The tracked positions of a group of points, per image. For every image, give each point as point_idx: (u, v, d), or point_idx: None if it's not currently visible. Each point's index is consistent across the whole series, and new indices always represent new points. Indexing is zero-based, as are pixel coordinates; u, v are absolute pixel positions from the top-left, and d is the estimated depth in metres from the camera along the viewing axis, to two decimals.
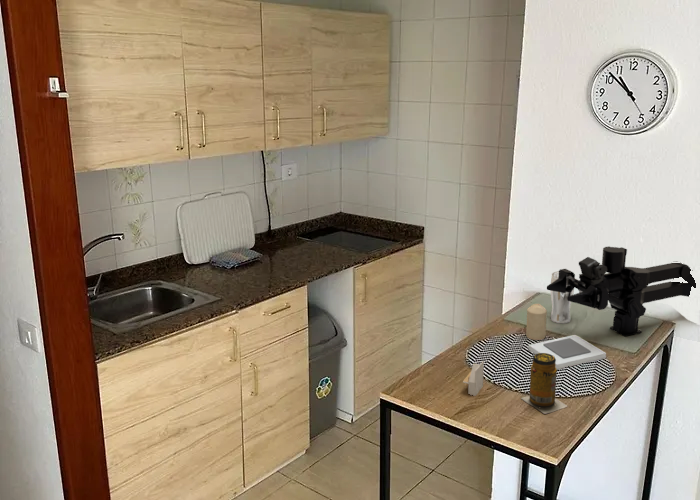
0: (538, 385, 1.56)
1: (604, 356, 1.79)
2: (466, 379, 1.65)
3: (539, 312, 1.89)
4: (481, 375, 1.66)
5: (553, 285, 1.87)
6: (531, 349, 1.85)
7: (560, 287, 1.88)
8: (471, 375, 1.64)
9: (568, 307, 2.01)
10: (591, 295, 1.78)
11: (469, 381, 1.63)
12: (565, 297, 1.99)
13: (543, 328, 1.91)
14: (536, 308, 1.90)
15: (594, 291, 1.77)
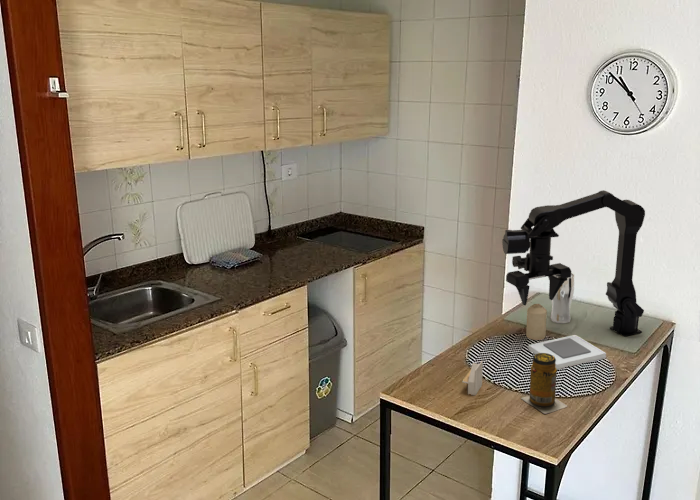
0: (538, 385, 1.56)
1: (604, 356, 1.79)
2: (465, 379, 1.65)
3: (539, 312, 1.89)
4: (480, 374, 1.66)
5: (549, 292, 1.92)
6: (531, 349, 1.85)
7: (554, 285, 1.90)
8: (470, 375, 1.64)
9: (568, 307, 2.01)
10: None
11: (469, 381, 1.63)
12: (565, 297, 1.99)
13: (543, 328, 1.91)
14: (536, 308, 1.90)
15: None
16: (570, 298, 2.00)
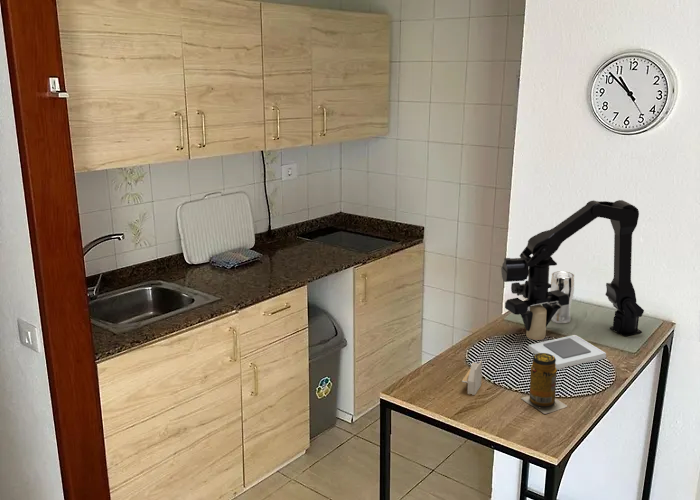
0: (538, 385, 1.56)
1: (604, 356, 1.79)
2: (465, 378, 1.65)
3: (539, 312, 1.89)
4: (479, 374, 1.66)
5: None
6: (531, 349, 1.85)
7: (547, 312, 1.92)
8: (470, 374, 1.64)
9: (568, 307, 2.01)
10: None
11: (468, 380, 1.64)
12: None
13: (543, 328, 1.91)
14: (536, 308, 1.90)
15: None
16: (570, 298, 2.00)
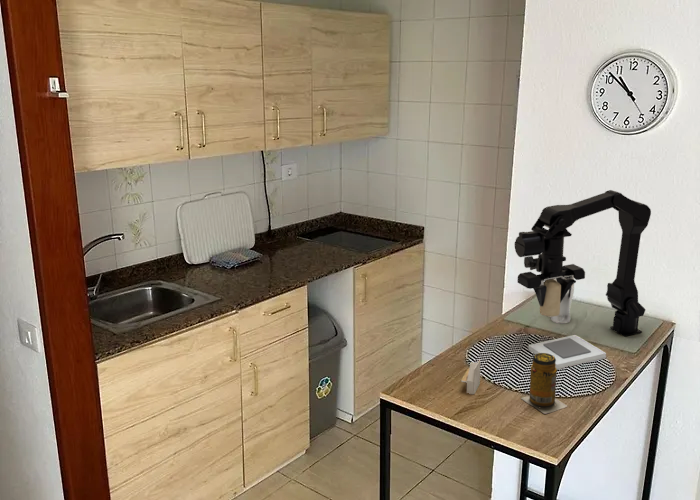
0: (538, 385, 1.56)
1: (604, 356, 1.79)
2: (464, 378, 1.66)
3: (553, 288, 1.82)
4: (478, 373, 1.67)
5: None
6: (531, 349, 1.85)
7: (562, 287, 1.84)
8: (469, 374, 1.64)
9: (568, 307, 2.01)
10: None
11: (467, 380, 1.64)
12: (565, 297, 1.99)
13: (557, 304, 1.83)
14: (550, 283, 1.82)
15: None
16: (570, 298, 2.00)
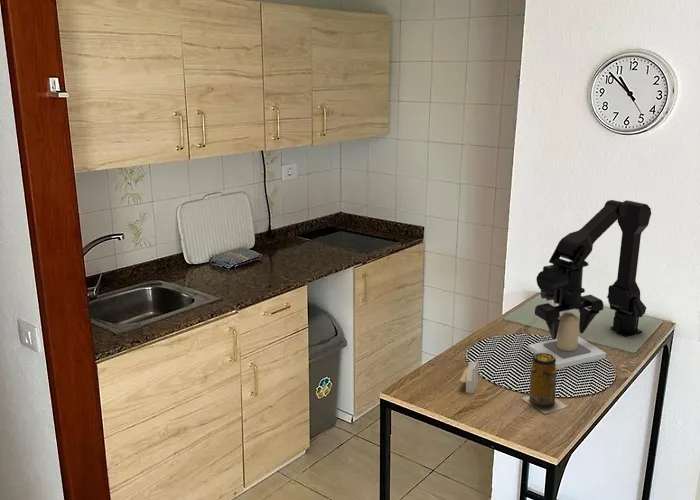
0: (538, 385, 1.56)
1: (604, 356, 1.79)
2: (463, 378, 1.66)
3: (571, 322, 1.77)
4: (477, 373, 1.67)
5: (580, 325, 1.82)
6: (531, 349, 1.85)
7: (584, 318, 1.80)
8: (468, 373, 1.65)
9: None
10: None
11: (466, 379, 1.64)
12: None
13: (575, 338, 1.79)
14: (568, 317, 1.78)
15: None
16: None
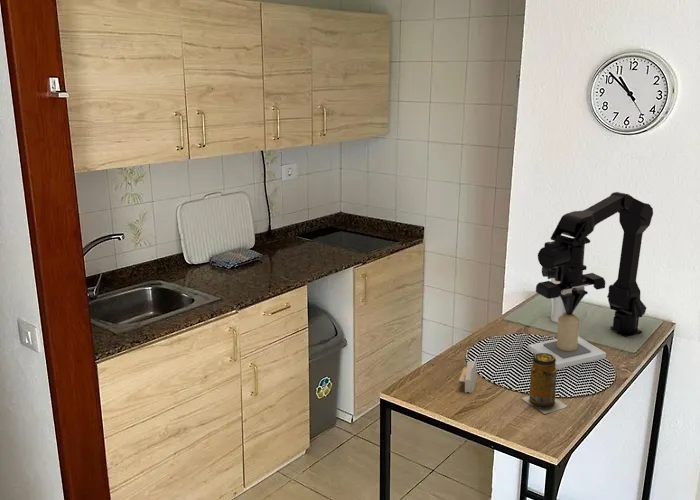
0: (538, 385, 1.56)
1: (604, 356, 1.79)
2: (461, 377, 1.66)
3: (571, 322, 1.77)
4: (475, 372, 1.68)
5: None
6: (531, 349, 1.85)
7: None
8: (467, 373, 1.65)
9: None
10: None
11: (465, 379, 1.64)
12: None
13: (575, 338, 1.79)
14: (568, 317, 1.78)
15: None
16: None
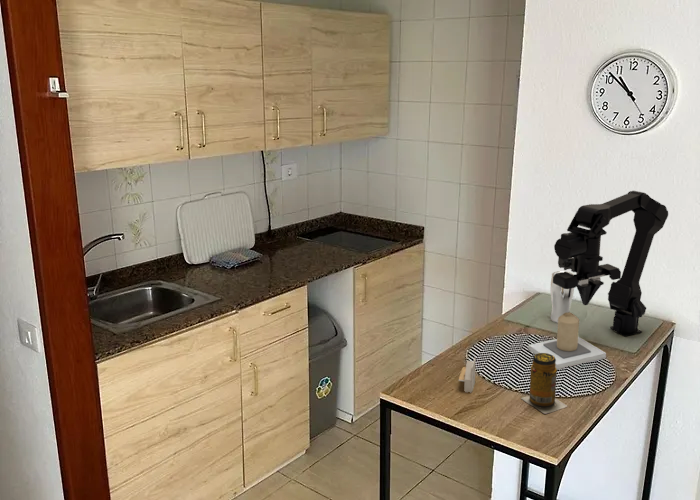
0: (538, 385, 1.56)
1: (604, 356, 1.79)
2: (461, 377, 1.66)
3: (571, 322, 1.77)
4: (474, 372, 1.68)
5: None
6: (531, 349, 1.85)
7: None
8: (466, 372, 1.65)
9: (568, 307, 2.01)
10: None
11: (465, 379, 1.65)
12: (565, 298, 1.99)
13: (575, 338, 1.79)
14: (568, 317, 1.78)
15: None
16: (570, 298, 2.00)
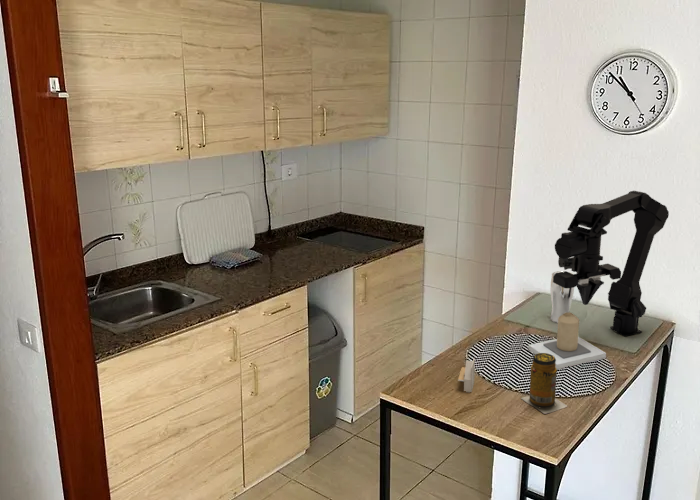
0: (538, 385, 1.56)
1: (604, 356, 1.79)
2: (460, 377, 1.66)
3: (571, 322, 1.77)
4: (473, 371, 1.68)
5: None
6: (531, 349, 1.85)
7: None
8: (466, 372, 1.65)
9: (568, 307, 2.01)
10: None
11: (465, 379, 1.65)
12: (565, 298, 1.99)
13: (575, 338, 1.79)
14: (568, 317, 1.78)
15: None
16: (570, 298, 2.00)
